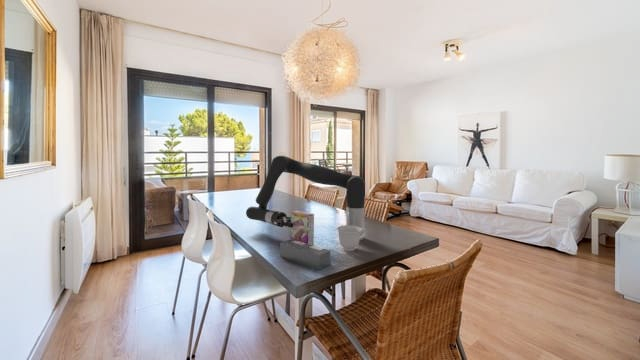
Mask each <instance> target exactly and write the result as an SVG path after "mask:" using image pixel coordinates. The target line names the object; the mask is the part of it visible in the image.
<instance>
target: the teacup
mask: <svg viewBox="0 0 640 360" xmlns="http://www.w3.org/2000/svg"><path fill="white" fill-rule="evenodd" d="M336 230H337V232H338V240H339V244H340V246H341V247H342V250H343V251H345V252H354V251H355V250H356V248H357V247H358V246H359V244H360V241H359V240H360V239H361V238H363V237H364V238H365V237H366V236H367V233H368V232H367V228H365V227H364V228H360V227H357V226H351V225H346V224H345V225H344V224H343V225H339V226H338V227H336ZM363 230H364V234H363V235H362V236H360V234H361V233H362V231H363ZM364 238H363V239H364Z"/></svg>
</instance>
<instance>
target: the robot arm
mask: <svg viewBox="0 0 640 360" xmlns="http://www.w3.org/2000/svg"><path fill="white" fill-rule="evenodd" d="M283 173H286V174H287V173H288V174H293V175H296V176H300V177H301V178H304V179H306V180H308V181H310V182H312V183H313V182H314V183H317V184H321V185H326V186H327V185H328V186H336V187H339V188H344V189H346V192H345V193H346V194H345V195H346V197H345V198H346V200H345V201H346V213H345V214H346V216H345V218H346V219H345V225H351V226H357V227H360V228H365V192H366V191H365V190H366V180H364V178H363V177H361V176H359V175H354V174H349V173H348V174H347V173H343V172H339V171H337V170H334V169H331V168H328V167H325V166H322V165H318V164H313V163H308V162H302V161H299V160H295V159H293V158H290V157H289V156H285V155H276V156H274V157H273V159H272V161H271V163H270V166H269V170H268V171H267V175H266V178H265V180H264V183H263V185H262V186H261V189H260V190H259V192H258V194H257V196H256V198H255V203H256V204H257V205H258V207H257V206H254V205H253V206H249V207H248V208H247V209H246V211H245V214H246V217H247V218H248V219H250V220H252V221H253V220H254V221H260V222H263V223H267V224H269V225H273V226H276V227H280V228H283V227H284V228H290V229H291V228H292V227H293V223H291V215H287V213H286V212H284V211H283V212H282V211H279V210H272V209H267V208H268V204H269V202H270V201H271V198H272V196H273V194H274V192H275V188H276V185H277V182H278V180H279V178H280V177H281V176H282V174H283ZM364 233H365V230H363V231H362V233H361V234H360V236H362V235H363V234H364ZM364 238H365V237H363V238H361V239H360V240H359V242H361V241H363V240H364Z"/></svg>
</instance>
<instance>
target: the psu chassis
mask: <svg viewBox="0 0 640 360" xmlns="http://www.w3.org/2000/svg"><path fill="white" fill-rule="evenodd" d="M279 246H280V248H279V249H280V250H279V254H280V255H279V256H280V258H281V257H282V258H283V259H287V260H289V261H292V262H295V263H298V264H300V265H303V266H306V267H309V268H313V269H314V270H318V271H321V270H322V269H324V268H327V267H329V266H330V265H331V250H330V249H327V248H323V247H320V246H316V245H314V246H313V245H310V244H306V243H303V242H299V241H296V240H293V239H291V238H290V239H288V240H285V241H282V242H280V243H279Z"/></svg>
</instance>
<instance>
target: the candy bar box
mask: <svg viewBox="0 0 640 360" xmlns="http://www.w3.org/2000/svg"><path fill="white" fill-rule="evenodd" d="M290 217H291V223H293V227H292V228H291V227H290V240H291V239H293V240H296V241H299V242H303V243H306V244H310V245H313V246H315V245H314V242H315V239H314V237H315V236H314V234H315V233H314V232H315V228H314V227H315V213H311V212H307V211H306V212H305V211H299V210H294V211H290Z"/></svg>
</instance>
